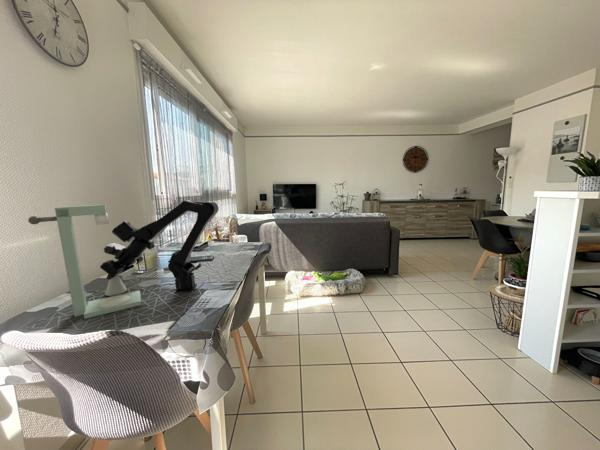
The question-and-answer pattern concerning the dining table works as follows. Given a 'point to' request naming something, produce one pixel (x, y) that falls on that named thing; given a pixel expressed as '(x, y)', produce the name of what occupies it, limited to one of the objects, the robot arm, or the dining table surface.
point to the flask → (115, 287)
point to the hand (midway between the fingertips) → (110, 277)
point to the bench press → (73, 263)
